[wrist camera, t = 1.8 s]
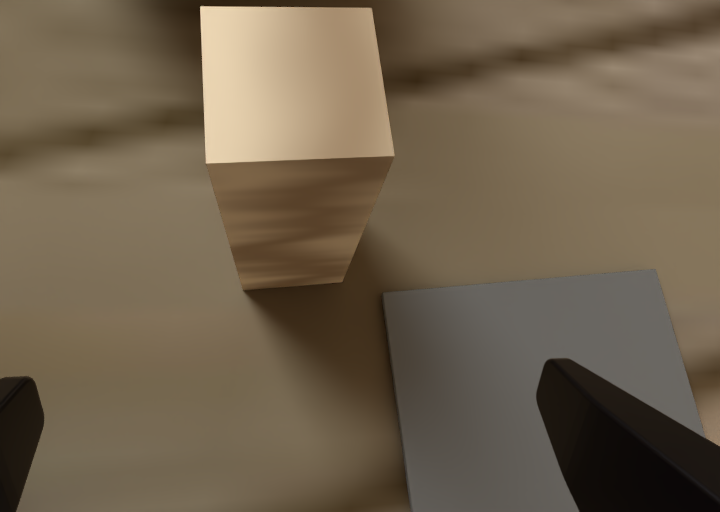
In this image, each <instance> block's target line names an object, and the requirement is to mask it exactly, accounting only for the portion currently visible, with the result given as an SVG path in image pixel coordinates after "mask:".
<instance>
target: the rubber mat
mask: <svg viewBox="0 0 720 512" xmlns="http://www.w3.org/2000/svg"><path fill="white" fill-rule="evenodd" d="M382 303H383V310H384V317H385V325H386V332H387V339H388V347H389V354H390V362H391V369H392V376H393V384H394V391H395V399H396V406H397V413H398V421H399V428H400V435H401V443H402V450H403V458H404V465H405V472H406V480H407V487H408V495H409V502H410V509H411V512H579V510H578V508H577V506H576V504H575V501H574V499H573V497H572V495H571V493H570V491H569V489H568V487H567V484H566V482H565V480H564V478H563V475H562V472H561V470H560V467H559V465H558V462H557V459H556V456H555V453H554V451H553V448H552V445H551V442H550V439H549V437H548V434H547V431H546V428H545V425H544V423H543V420H542V417H541V414H540V411H539V408H538V406H537V401H536V391H537V387H538V384H539V380H540V377H541V373H542V370H543V366H544V363H545V362H546V361H547V360H548V359H551V358H569V359H571V360H573V361H575V362H576V363H578V364H580V365H581V366H583V367H585V368H587V369H588V370H590V371H592V372H593V373H595V374H597V375H599V376H600V377H602V378H604V379H605V380H607V381H609V382H610V383H612V384H614V385H616V386H617V387H619V388H621V389H622V390H624V391H626V392H628V393H629V394H631V395H633V396H634V397H636V398H638V399H639V400H641V401H643V402H645V403H646V404H648V405H650V406H651V407H653V408H655V409H657V410H658V411H660V412H662V413H663V414H665V415H667V416H668V417H670V418H672V419H674V420H675V421H677V422H679V423H680V424H682V425H684V426H686V427H687V428H689V429H691V430H692V431H694V432H696V433H697V434H699V435H701V436H703V437H704V438H705V434H704V431H703V428H702V424H701V421H700V418H699V414H698V411H697V408H696V404H695V401H694V397H693V394H692V391H691V387H690V384H689V381H688V377H687V374H686V370H685V367H684V364H683V360H682V357H681V354H680V350H679V347H678V343H677V340H676V337H675V333H674V330H673V327H672V323H671V320H670V317H669V313H668V310H667V306H666V303H665V300H664V296H663V293H662V290H661V286H660V283H659V279H658V276H657V273H656V269H651V270H639V271H627V272H616V273H604V274H593V275H581V276H569V277H558V278H546V279H534V280H523V281H511V282H500V283H488V284H476V285H465V286H453V287H441V288H430V289H418V290H407V291H395V292H383V293H382Z"/></svg>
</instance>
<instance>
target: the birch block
mask: <svg viewBox="0 0 720 512" xmlns="http://www.w3.org/2000/svg"><path fill="white" fill-rule="evenodd" d="M200 16H201V43H202V69H203V96H204V123H205V149H206V165H207V169H208V172H209V175H210V179H211V182H212V186H213V189H214V193H215V196H216V199H217V203H218V206H219V210H220V213H221V217H222V220H223V224H224V227H225V230H226V234H227V237H228V241H229V244H230V248H231V251H232V254H233V258H234V261H235V265H236V268H237V272H238V275H239V278H240V282H241V285H242V289H243V290H253V289H265V288H277V287H290V286H302V285H314V284H327V283H339V282H343V279H344V277H345V274H346V272H347V270H348V267H349V265H350V262H351V260H352V258H353V255H354V253H355V250H356V248H357V245H358V243H359V241H360V238H361V236H362V233H363V231H364V229H365V226H366V224H367V221H368V219H369V217H370V214H371V212H372V209H373V207H374V204H375V202H376V200H377V197H378V195H379V192H380V190H381V188H382V185H383V183H384V180H385V178H386V176H387V173H388V171H389V168H390V166H391V163H392V161H393V159H394V156H395V155H394V149H393V142H392V136H391V129H390V123H389V116H388V110H387V104H386V97H385V91H384V84H383V78H382V71H381V65H380V59H379V52H378V46H377V39H376V33H375V26H374V20H373V13H372V8H332V7H215V6H200Z"/></svg>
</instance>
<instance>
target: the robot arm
mask: <svg viewBox="0 0 720 512" xmlns="http://www.w3.org/2000/svg"><path fill="white" fill-rule="evenodd" d="M536 401H537V406H538V408H539V411H540V414H541V417H542V420H543V423H544V425H545V428H546V431H547V434H548V437H549V439H550V442H551V445H552V448H553V451H554V453H555V456H556V459H557V462H558V465H559V467H560V470H561V472H562V475H563V478H564V480H565V482H566V484H567V487H568V489H569V491H570V493H571V495H572V497H573V499H574V501H575V504H576V506H577V508H578V510H579V512H720V446H718V445H716V444H715V443H713V442H711V441H709V440H708V439H706V438H704V437H703V436H701V435H699V434H697V433H696V432H694V431H692V430H691V429H689V428H687V427H686V426H684V425H682V424H680V423H679V422H677V421H675V420H674V419H672V418H670V417H668V416H667V415H665V414H663V413H662V412H660V411H658V410H657V409H655V408H653V407H651V406H650V405H648V404H646V403H645V402H643V401H641V400H639V399H638V398H636V397H634V396H633V395H631V394H629V393H628V392H626V391H624V390H622V389H621V388H619V387H617V386H616V385H614V384H612V383H610V382H609V381H607V380H605V379H604V378H602V377H600V376H599V375H597V374H595V373H593V372H592V371H590V370H588V369H587V368H585V367H583V366H581V365H580V364H578V363H576V362H575V361H573V360H571V359H569V358H551V359H548V360H547V361H546V362H545V363H544V366H543V370H542V373H541V377H540V380H539V384H538V387H537V391H536ZM43 426H44V412H43V408H42V405H41V401H40V398H39V394H38V390H37V387H36V384H35V381H34V380H33V379H32V378H31V377H28V376H20V377H4V378H2V379H0V512H16V510H17V507H18V504H19V501H20V498H21V495H22V492H23V489H24V486H25V483H26V480H27V477H28V473H29V470H30V467H31V464H32V461H33V458H34V455H35V452H36V449H37V445H38V442H39V439H40V436H41V433H42V430H43Z"/></svg>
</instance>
